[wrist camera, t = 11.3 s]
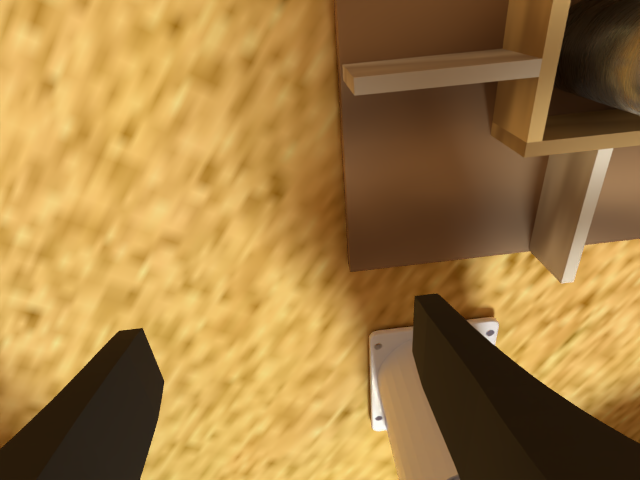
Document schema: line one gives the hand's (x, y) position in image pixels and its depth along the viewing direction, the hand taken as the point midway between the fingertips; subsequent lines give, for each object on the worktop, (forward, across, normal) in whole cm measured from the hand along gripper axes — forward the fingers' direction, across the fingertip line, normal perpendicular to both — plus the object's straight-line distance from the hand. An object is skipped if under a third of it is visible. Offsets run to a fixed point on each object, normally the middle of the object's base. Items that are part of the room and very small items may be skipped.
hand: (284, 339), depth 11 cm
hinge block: (+10, -11, -3) cm, 15 cm away
